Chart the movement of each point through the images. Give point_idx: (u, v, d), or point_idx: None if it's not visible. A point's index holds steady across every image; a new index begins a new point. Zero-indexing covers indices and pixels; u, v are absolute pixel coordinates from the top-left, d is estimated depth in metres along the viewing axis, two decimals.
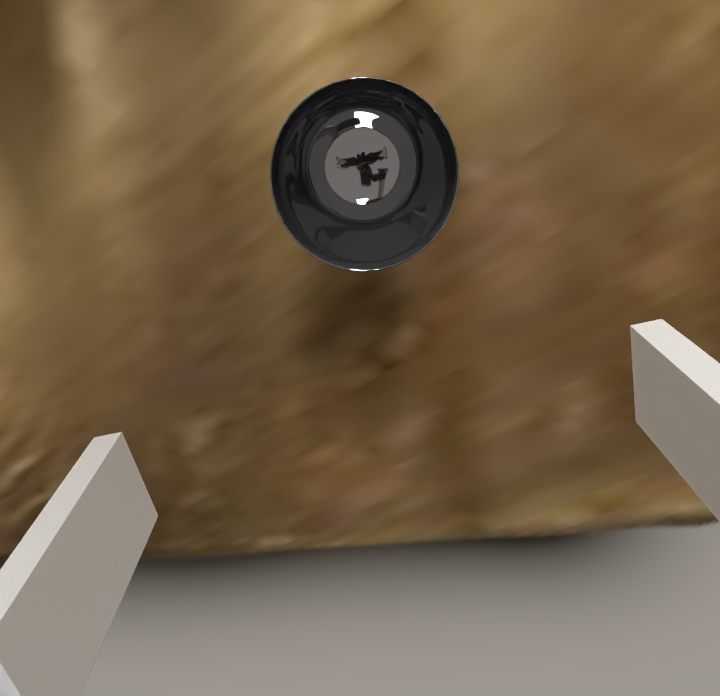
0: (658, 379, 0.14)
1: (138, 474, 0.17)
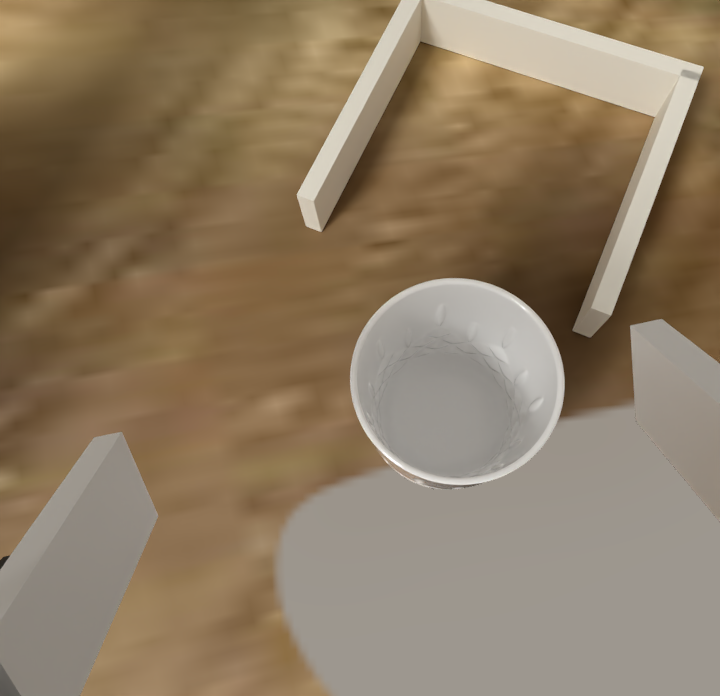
0: (658, 379, 0.14)
1: (138, 474, 0.17)
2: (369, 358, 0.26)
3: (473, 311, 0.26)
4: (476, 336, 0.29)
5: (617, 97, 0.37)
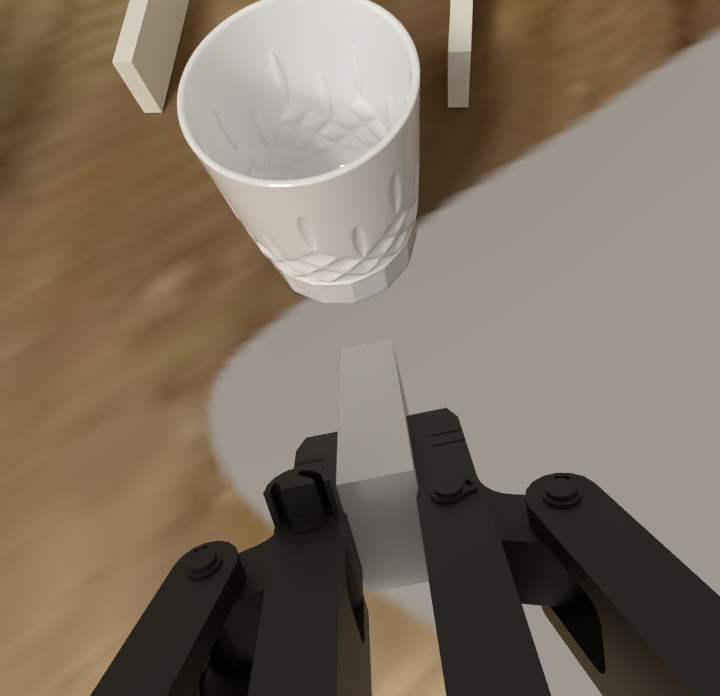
0: None
1: None
2: (210, 129, 0.22)
3: (309, 51, 0.23)
4: (333, 101, 0.26)
5: None
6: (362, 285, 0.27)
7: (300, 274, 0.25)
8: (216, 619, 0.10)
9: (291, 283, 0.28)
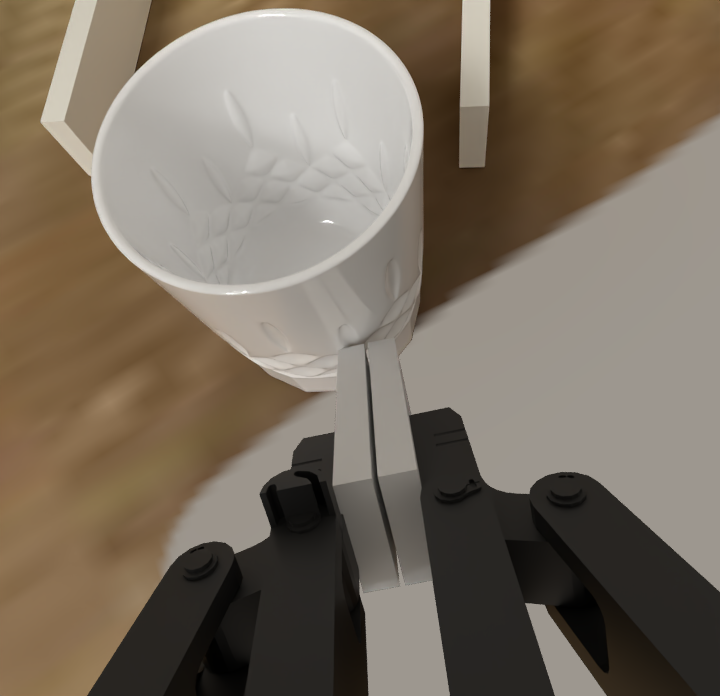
0: None
1: None
2: (145, 196, 0.17)
3: (275, 87, 0.18)
4: (310, 146, 0.20)
5: None
6: None
7: (274, 369, 0.20)
8: (212, 619, 0.10)
9: (266, 370, 0.22)
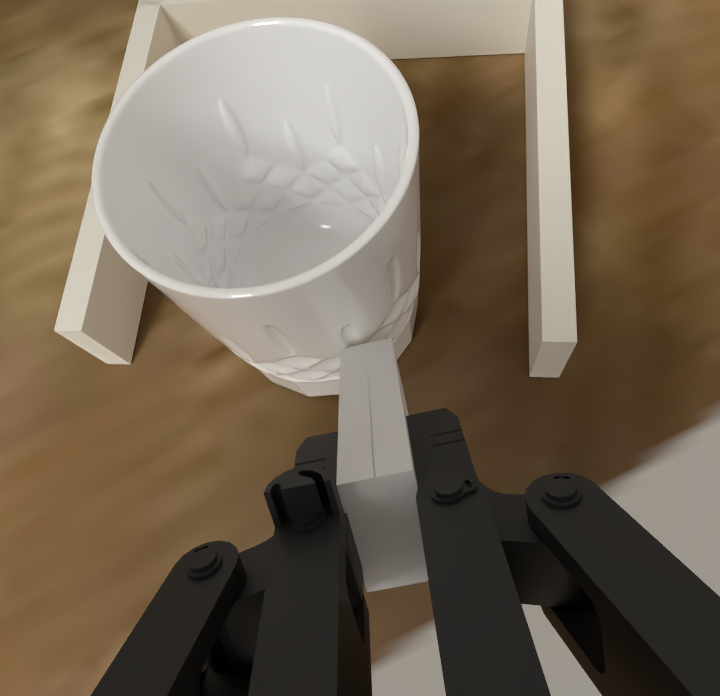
0: None
1: None
2: (144, 206, 0.17)
3: (269, 95, 0.18)
4: (304, 152, 0.20)
5: (466, 46, 0.27)
6: None
7: (277, 374, 0.20)
8: (216, 619, 0.10)
9: (268, 376, 0.22)
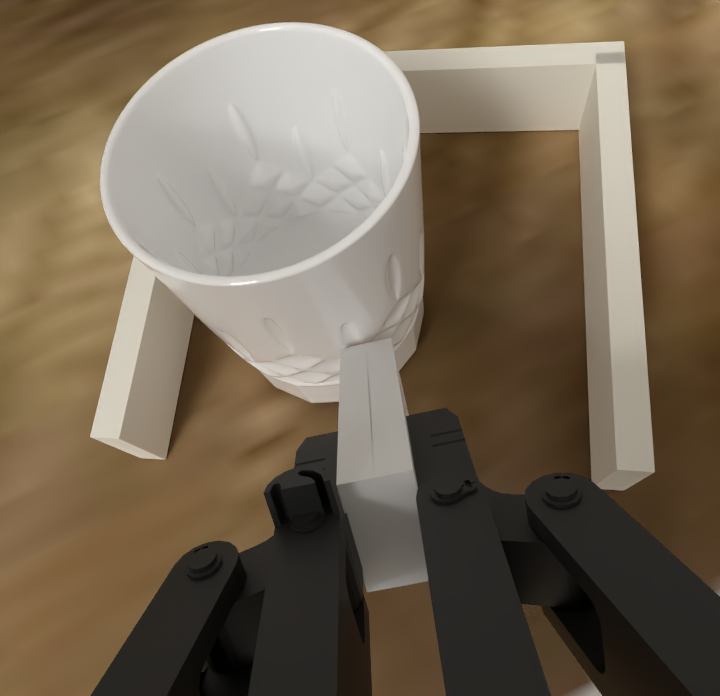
0: None
1: None
2: (152, 203, 0.17)
3: (278, 100, 0.19)
4: (313, 159, 0.21)
5: (517, 122, 0.26)
6: None
7: (279, 375, 0.20)
8: (216, 619, 0.10)
9: (271, 380, 0.22)
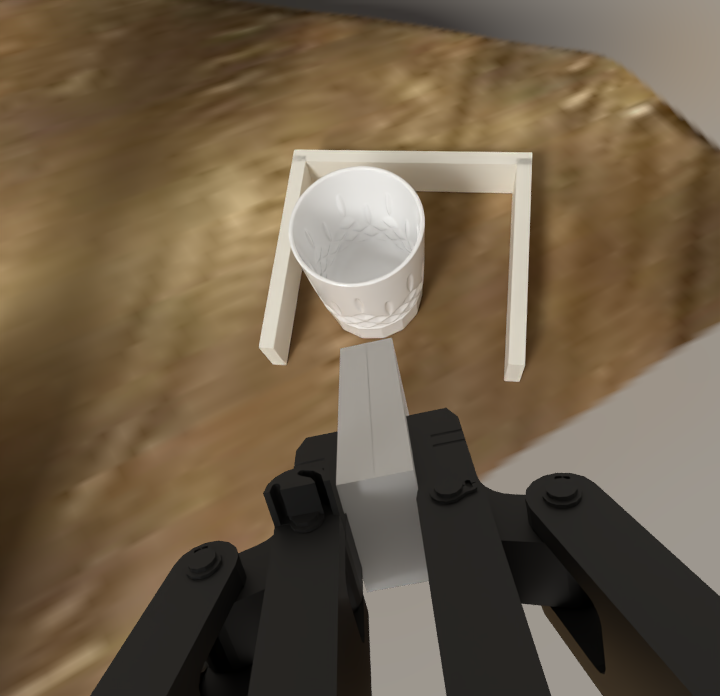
0: None
1: None
2: (302, 242, 0.38)
3: (359, 193, 0.39)
4: (371, 216, 0.42)
5: (478, 188, 0.47)
6: (388, 328, 0.43)
7: (351, 323, 0.41)
8: (216, 619, 0.10)
9: (343, 325, 0.44)
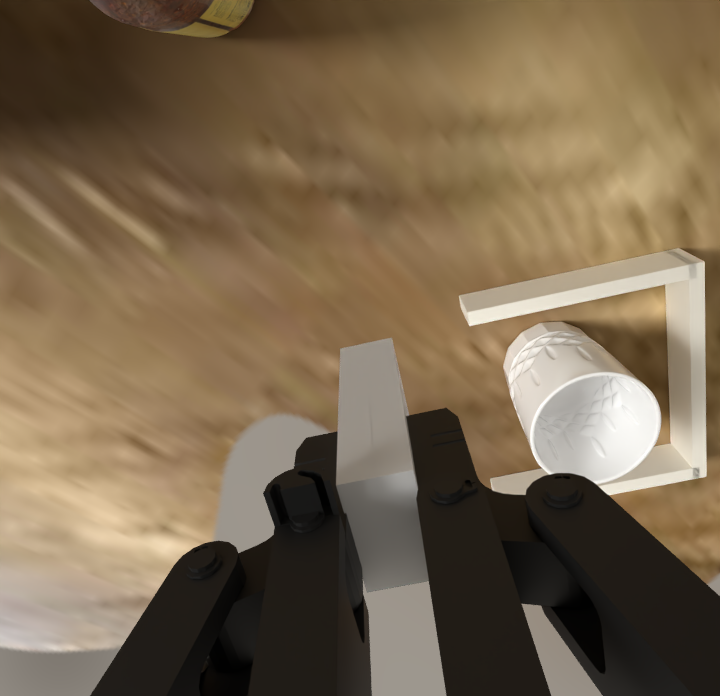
0: None
1: None
2: None
3: (637, 395, 0.40)
4: (620, 385, 0.42)
5: (672, 420, 0.49)
6: None
7: (510, 381, 0.44)
8: (216, 619, 0.10)
9: (510, 355, 0.46)
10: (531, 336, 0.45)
